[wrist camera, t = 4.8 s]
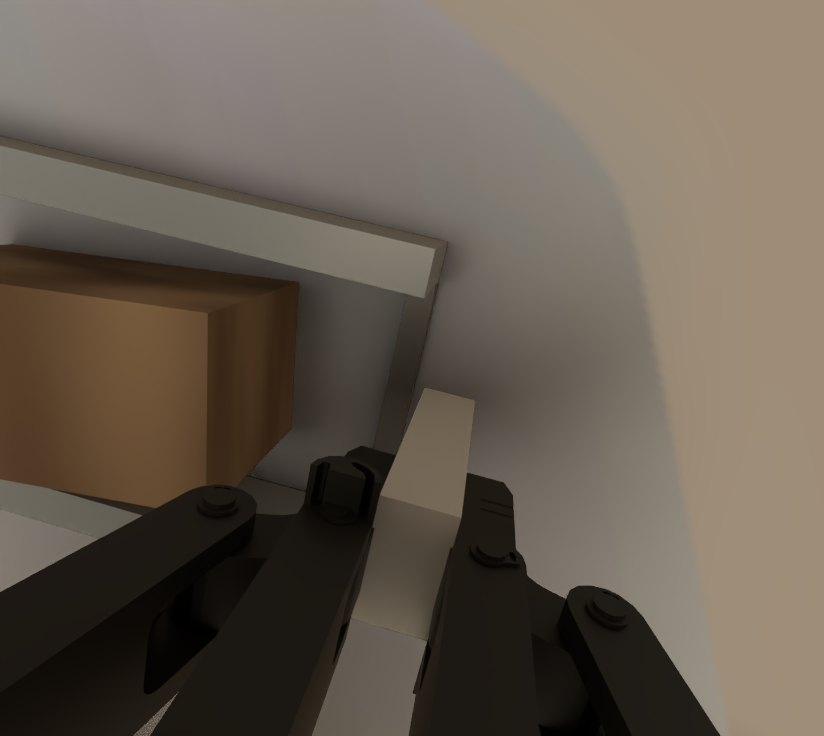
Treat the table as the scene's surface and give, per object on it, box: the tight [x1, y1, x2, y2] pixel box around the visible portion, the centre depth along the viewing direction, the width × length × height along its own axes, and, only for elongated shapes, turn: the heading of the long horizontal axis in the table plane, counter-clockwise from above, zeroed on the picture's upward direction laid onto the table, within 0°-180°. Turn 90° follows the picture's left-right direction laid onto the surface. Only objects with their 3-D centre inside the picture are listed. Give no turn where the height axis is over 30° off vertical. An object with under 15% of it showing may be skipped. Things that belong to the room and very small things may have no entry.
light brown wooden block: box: [0, 244, 299, 508], centre depth 16 cm, size 10×5×6 cm, turn 84°
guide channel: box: [0, 136, 448, 538], centre depth 17 cm, size 18×11×4 cm, turn 77°
